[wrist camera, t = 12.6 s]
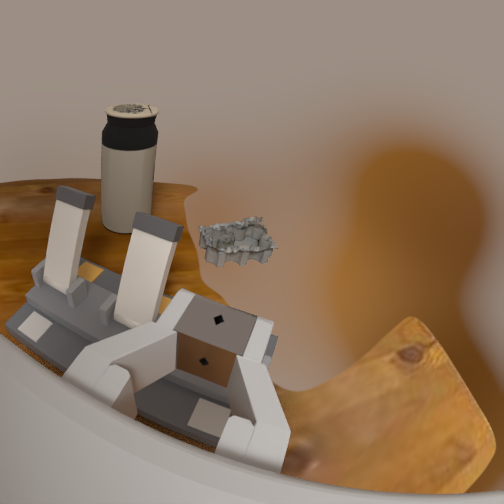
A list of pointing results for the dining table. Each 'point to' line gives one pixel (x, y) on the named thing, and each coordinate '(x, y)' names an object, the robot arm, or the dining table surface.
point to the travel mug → (127, 164)
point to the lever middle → (146, 269)
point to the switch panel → (104, 326)
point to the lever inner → (66, 237)
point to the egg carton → (236, 242)
